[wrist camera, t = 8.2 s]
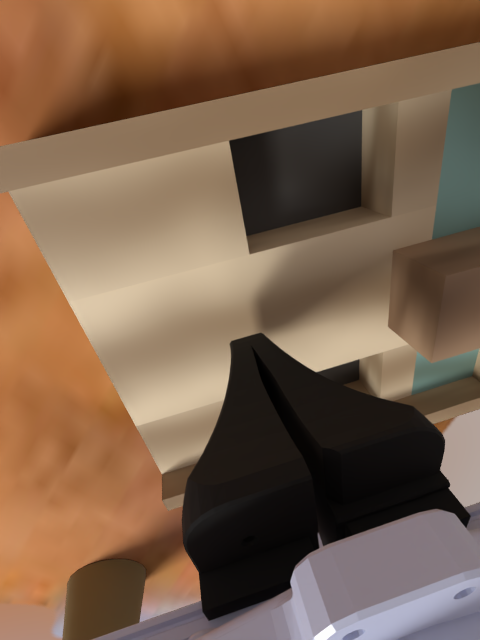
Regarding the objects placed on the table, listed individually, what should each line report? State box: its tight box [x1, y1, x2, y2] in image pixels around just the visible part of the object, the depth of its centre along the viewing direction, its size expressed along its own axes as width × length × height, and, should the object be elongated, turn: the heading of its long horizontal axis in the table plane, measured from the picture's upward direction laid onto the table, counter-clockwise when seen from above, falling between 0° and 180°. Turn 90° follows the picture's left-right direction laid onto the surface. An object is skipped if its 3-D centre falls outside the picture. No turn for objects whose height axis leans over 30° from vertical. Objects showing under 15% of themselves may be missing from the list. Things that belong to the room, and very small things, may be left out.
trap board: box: [0, 42, 480, 511], centre depth 15 cm, size 17×20×4 cm
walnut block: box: [388, 227, 480, 363], centre depth 14 cm, size 4×5×3 cm
